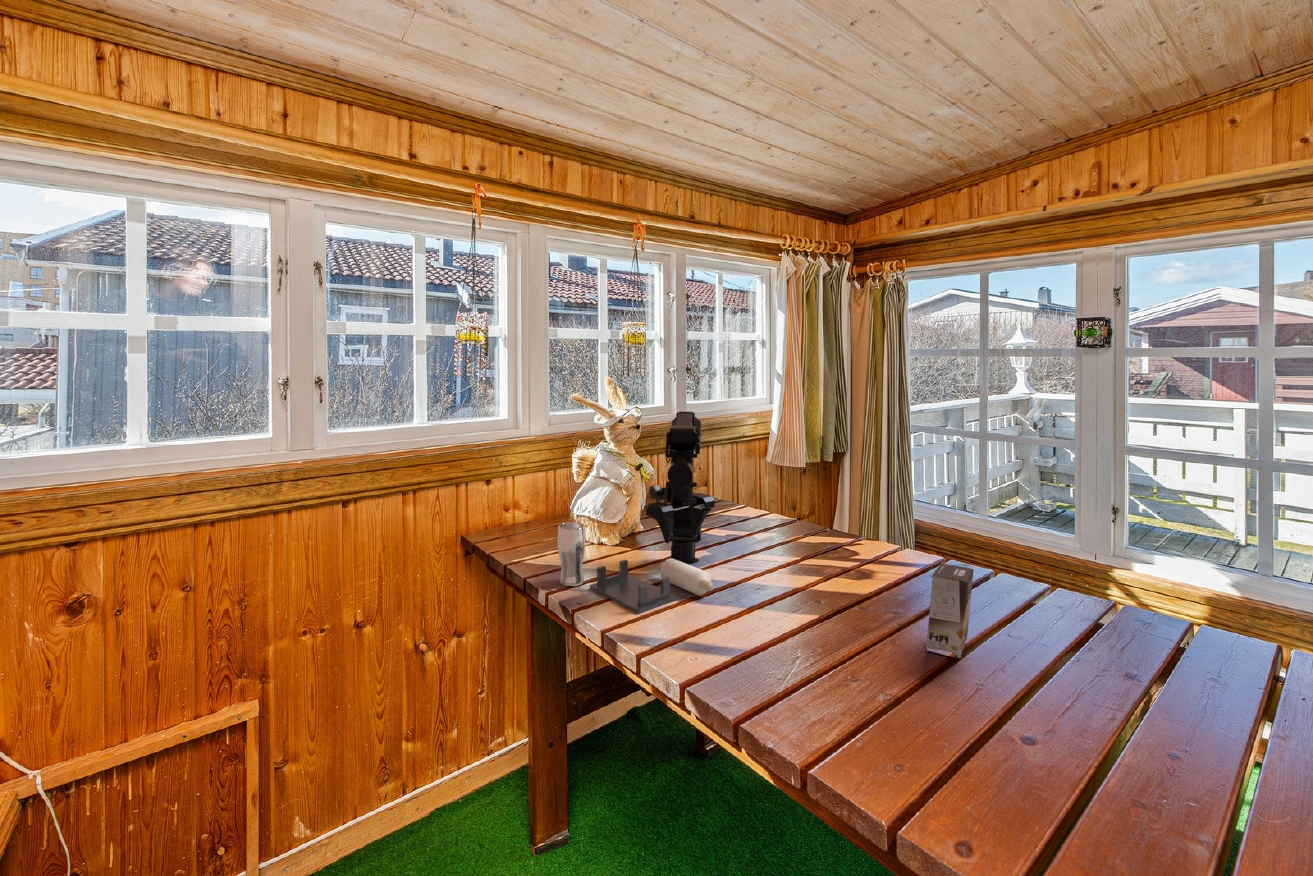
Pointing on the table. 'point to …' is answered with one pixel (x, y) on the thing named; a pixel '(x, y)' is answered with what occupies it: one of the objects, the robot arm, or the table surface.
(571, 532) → the beer glass
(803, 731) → the table surface
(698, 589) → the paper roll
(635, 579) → the roll stand
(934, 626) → the coffee box
